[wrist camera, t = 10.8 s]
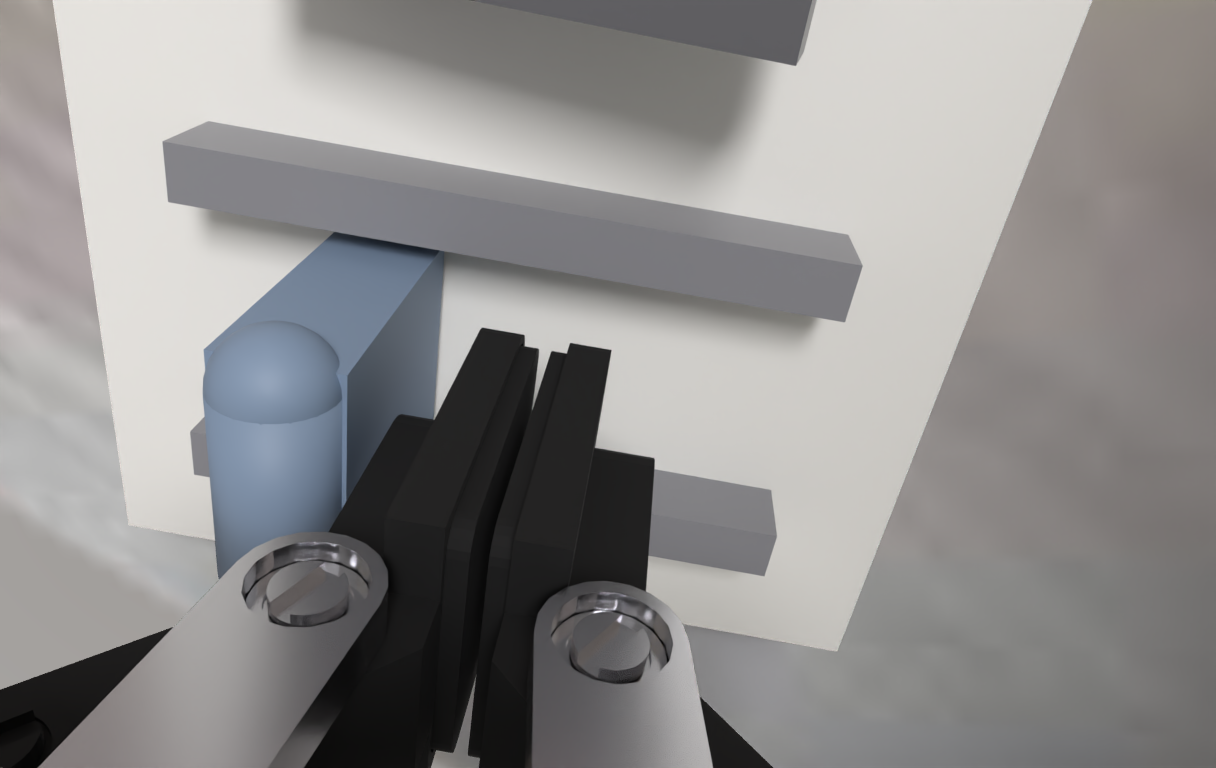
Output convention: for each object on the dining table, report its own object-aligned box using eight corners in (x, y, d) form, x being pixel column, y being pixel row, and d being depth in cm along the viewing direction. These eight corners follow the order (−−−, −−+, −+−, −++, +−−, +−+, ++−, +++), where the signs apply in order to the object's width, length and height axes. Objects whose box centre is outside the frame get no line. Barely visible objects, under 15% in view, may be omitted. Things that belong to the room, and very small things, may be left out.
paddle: (341, 198, 12) (163, 345, 8) (446, 217, 12) (320, 373, 8) (340, 425, 14) (194, 638, 10) (432, 441, 14) (323, 662, 10)
